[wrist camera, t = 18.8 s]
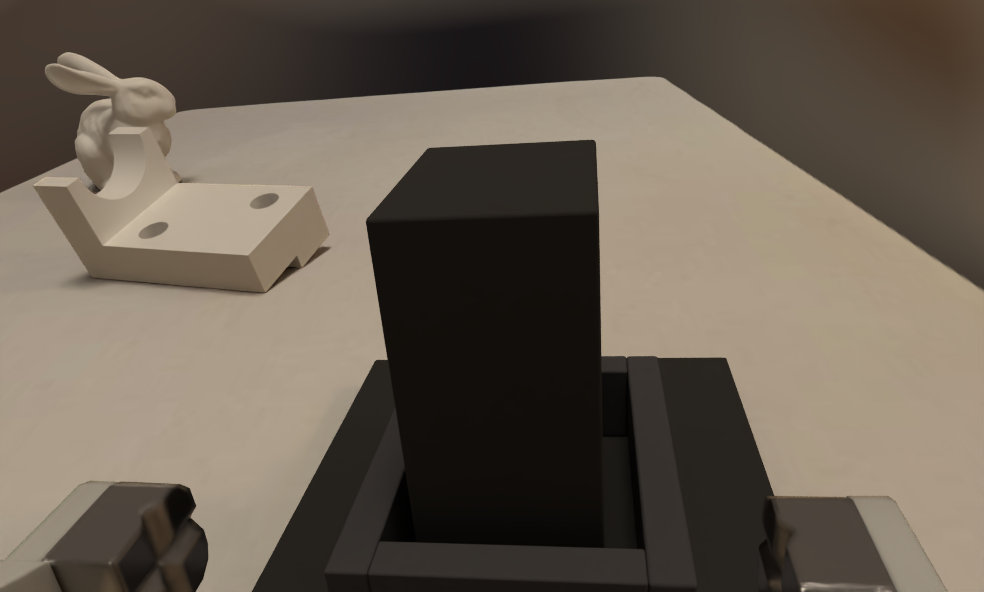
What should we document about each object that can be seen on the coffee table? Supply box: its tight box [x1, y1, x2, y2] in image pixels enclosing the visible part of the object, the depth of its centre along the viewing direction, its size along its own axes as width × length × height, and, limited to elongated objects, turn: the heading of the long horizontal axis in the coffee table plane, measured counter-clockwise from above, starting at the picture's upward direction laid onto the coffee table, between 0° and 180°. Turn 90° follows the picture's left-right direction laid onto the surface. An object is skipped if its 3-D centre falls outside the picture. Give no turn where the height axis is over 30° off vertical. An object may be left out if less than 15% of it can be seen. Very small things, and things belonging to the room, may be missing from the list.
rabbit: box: [45, 52, 181, 190], centre depth 63 cm, size 12×9×12 cm
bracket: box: [33, 127, 330, 293], centre depth 43 cm, size 13×7×8 cm, turn 70°
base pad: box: [252, 356, 774, 592], centre depth 20 cm, size 14×18×4 cm
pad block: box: [366, 140, 604, 548], centre depth 18 cm, size 4×6×10 cm
